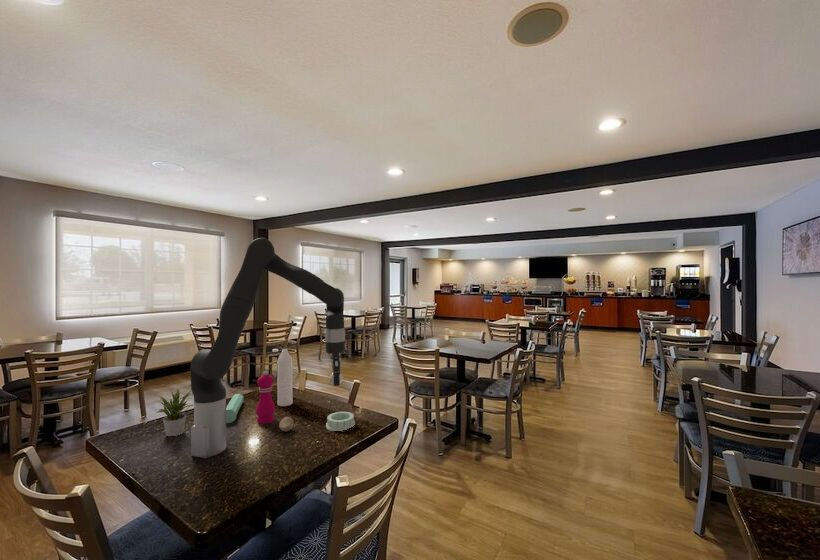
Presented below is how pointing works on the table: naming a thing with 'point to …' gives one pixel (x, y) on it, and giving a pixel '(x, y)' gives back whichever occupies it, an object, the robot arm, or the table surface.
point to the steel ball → (333, 378)
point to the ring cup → (340, 421)
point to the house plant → (174, 414)
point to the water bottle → (284, 378)
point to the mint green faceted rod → (233, 407)
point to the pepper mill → (265, 399)
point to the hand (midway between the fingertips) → (336, 383)
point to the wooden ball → (286, 424)
